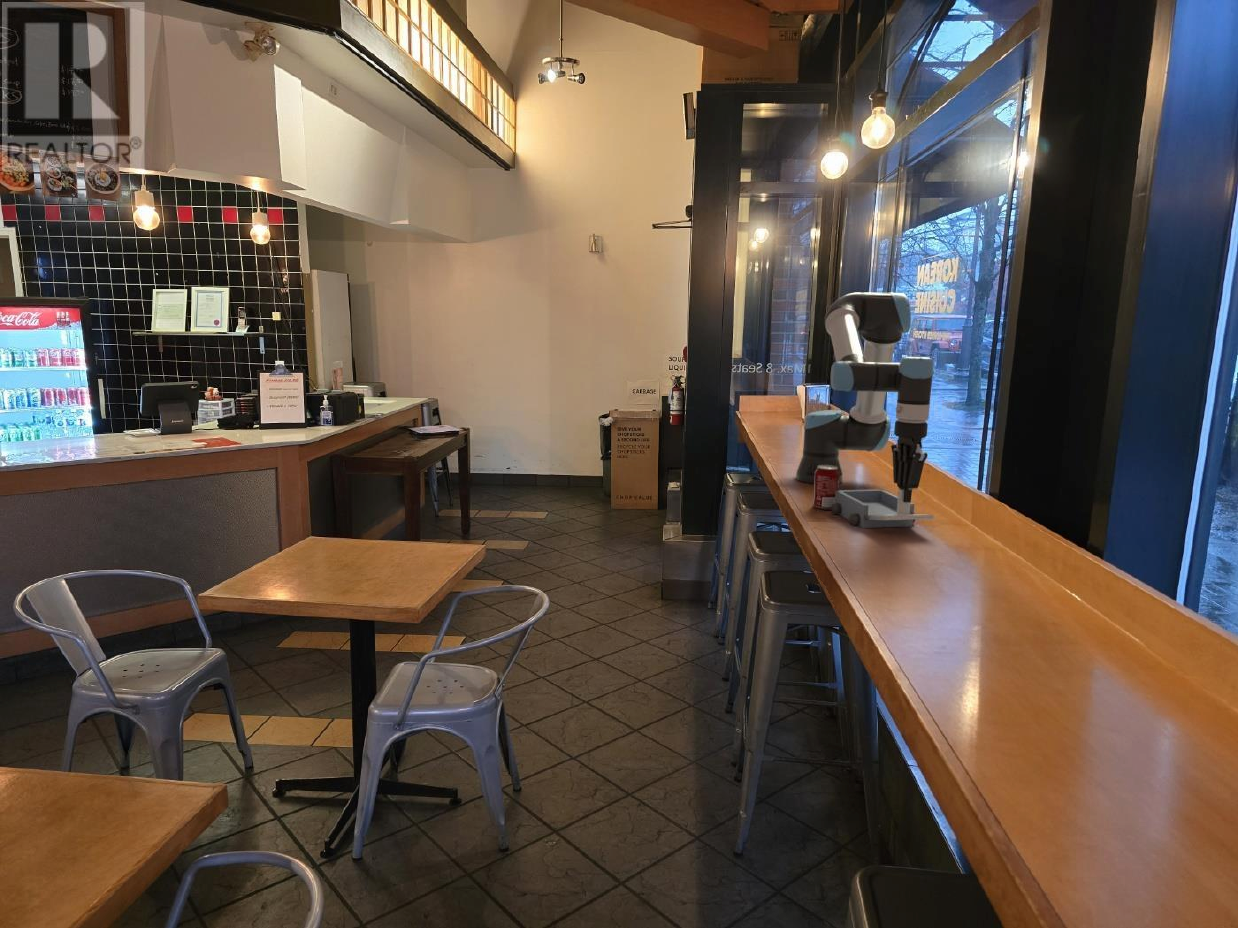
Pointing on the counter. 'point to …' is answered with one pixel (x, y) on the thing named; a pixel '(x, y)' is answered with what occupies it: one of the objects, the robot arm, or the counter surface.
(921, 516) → the panel
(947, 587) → the counter surface
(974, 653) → the counter surface
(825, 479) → the soda can
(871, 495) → the box
